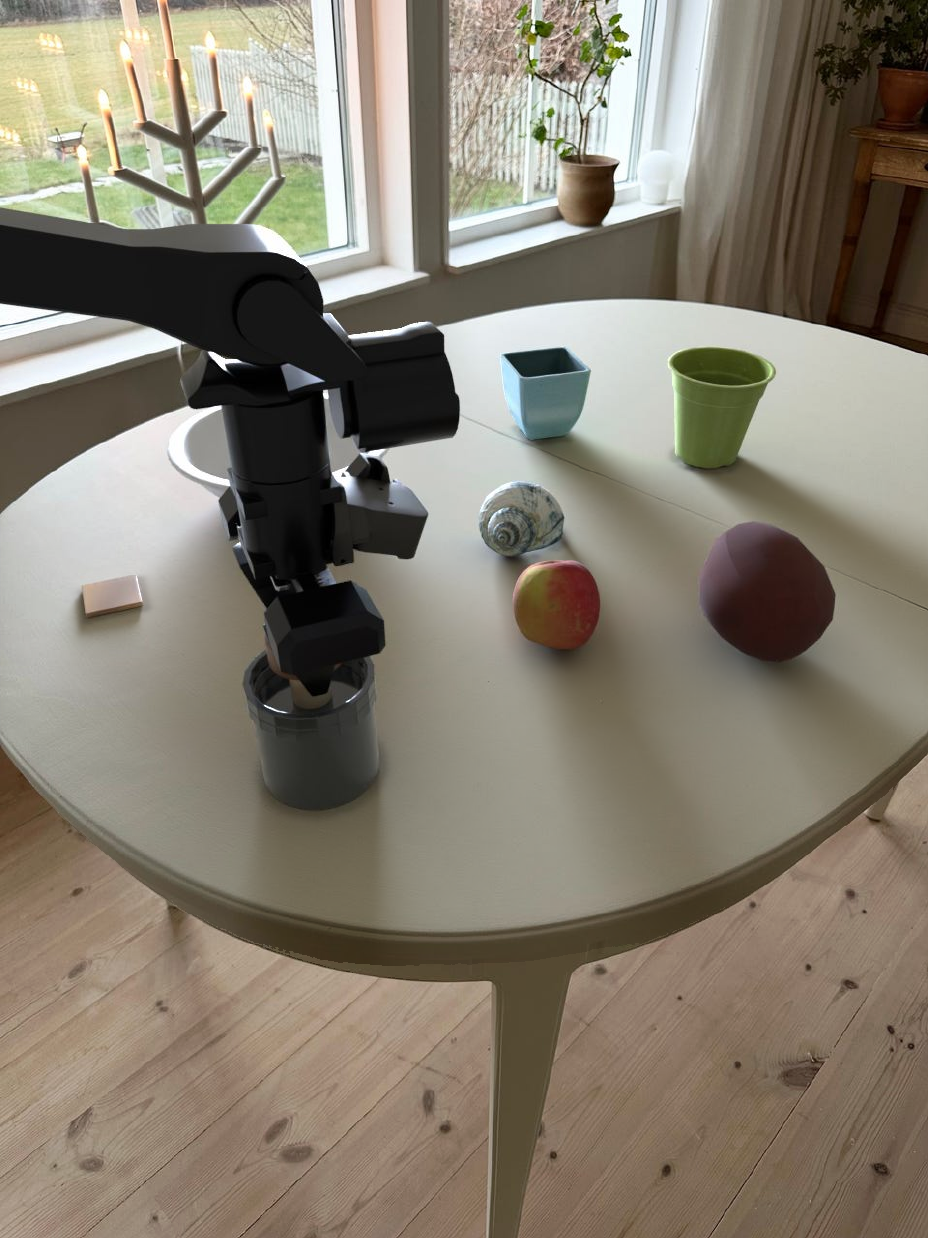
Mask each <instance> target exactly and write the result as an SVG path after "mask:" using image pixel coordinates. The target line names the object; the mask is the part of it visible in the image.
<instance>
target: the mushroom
mask: <svg viewBox="0 0 928 1238" xmlns="http://www.w3.org/2000/svg"><path fill="white" fill-rule="evenodd" d="M264 645H265V646H264V647H265V649H266V652H267V658H268V663H269V666H270V668H271V669H272V670H273V671H274V672H275V673H276V674H277V675H279V676H281V677H283V678H286V679H289V682H290V688H291V695H292V700H293V702H294V704H295V705H296V706H298V707H300V708H303V709H316V708H320V707H322V706H324V705H326V704H327V703H328V702H329V701H330V699H331V697H332V688H331V683H330V687H329V690H328V692H327V693H326V694H323V695H319V696H316V697H313V696H311V695H310V693H309V692H308V691H307V690H306V688H305V687H304V686H303V685H302V683H301V682H300V681H299V679H298V678H297V677H296V676H295V675H290V674H286V673H283V672H281V671H280V669H279V666H278V663H277V661H276V658H275V656H274V653H273V651H272V648H271V646H270V643H269V641H268V638H267V636H266V633H265V632H264ZM340 665H341V664H337V665H335V668H334V671H335V670H336V669H337V668H338V667H339V666H340Z"/></svg>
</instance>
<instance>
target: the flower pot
mask: <svg viewBox="0 0 928 1238" xmlns="http://www.w3.org/2000/svg"><path fill="white" fill-rule="evenodd" d="M499 359H500V368H501V378H502V379H501V380H502V387H503V393H504V398H505V401H506V405H507V407H508V410H509V412H510V414H511V416H512V418H513V420H514V422H515V424H516V425H517V427H518V428H519V429H520V431H521V432H522V433H523V434H524V436H525V437H526V439H528V440H540V439H548V438H555V437H563V436H566V435H568V434H569V433H570V432H571V431H572V430H573V428H574V427H575V426H576V424H577V422H578V420H579V419H580V417H581V414H582V413H583V410H584V406H585V402H586V398H587V393H588V388H589V382H590V377H591V372H592V370H591V368H589V366H588V365H586V364H585V363H584V362H583V361H582V360H581V359H580V358H579V357H578V356H577V355H575V353H573V352H572V351H571V349H570V348H568V347H566V346H557V347H546V348H538V349H537V348H536V349H529V350H519V351H511V352H509V351H508V352H503V353H500V354H499Z"/></svg>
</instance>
